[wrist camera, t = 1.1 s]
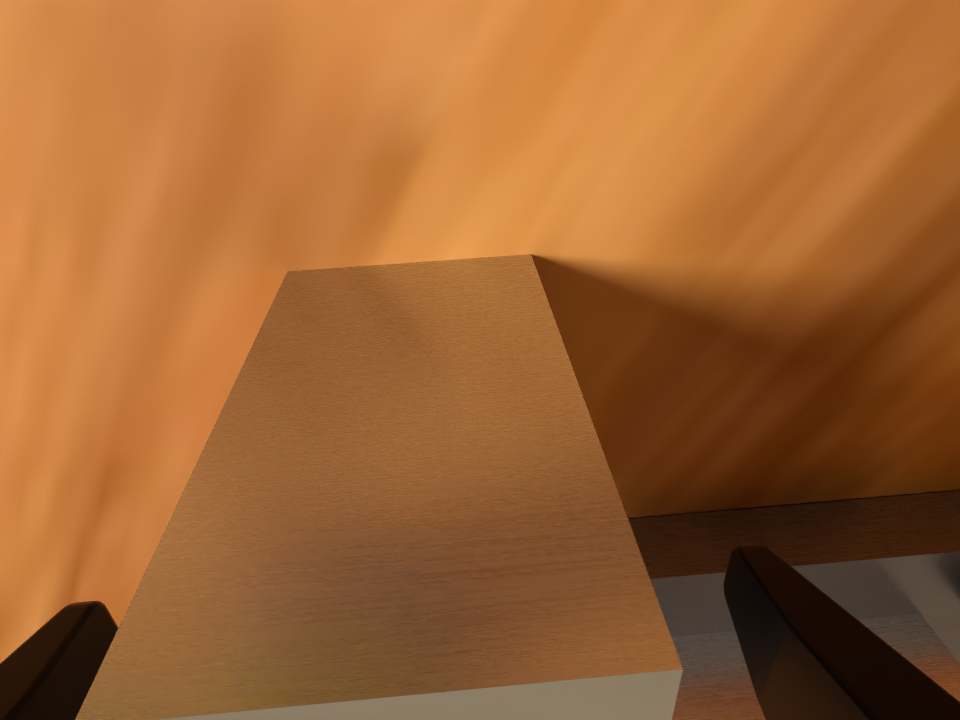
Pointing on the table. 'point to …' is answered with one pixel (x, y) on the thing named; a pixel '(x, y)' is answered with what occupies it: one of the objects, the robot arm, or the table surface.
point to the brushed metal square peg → (398, 524)
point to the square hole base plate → (824, 562)
